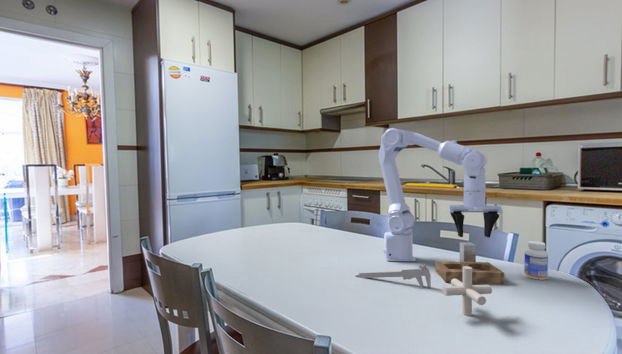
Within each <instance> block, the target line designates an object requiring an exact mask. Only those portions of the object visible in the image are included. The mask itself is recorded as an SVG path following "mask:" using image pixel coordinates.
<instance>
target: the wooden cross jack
mask: <svg viewBox="0 0 622 354" xmlns="http://www.w3.org/2000/svg"><path fill="white" fill-rule="evenodd" d="M450 284H451V286H443V287H442V288H441V289H442V294H443V295H444V296H445V297H449V296H450V297H451V296H462V301H461V303H462V305H461V306H462V307H461V309H462V314H463V315H464V316H468V317H470V316H473V315H472V314H473V313H472V312H473V301H474V303H476V304H477V305H479V306H485V304H486V302H487V298H486V297H485V296H484V295H489V294H490V295H491V294H492V292H493V289H492V286H491V285H490V284H479V285H478V284H477V285H474V284H473V283H472V267H468V266H463V283H462V282H461V281H459V280H458V279H456V278H454V279H452V280H451V283H450Z"/></svg>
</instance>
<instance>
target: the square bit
mask: <svg viewBox="0 0 622 354" xmlns="http://www.w3.org/2000/svg"><path fill="white" fill-rule="evenodd" d="M476 260H477V245H476V244H475V243H473V242H471V241H469V242H467V241H466V242H463V241H460V242H459V262H477V261H476Z"/></svg>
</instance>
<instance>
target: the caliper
mask: <svg viewBox="0 0 622 354" xmlns="http://www.w3.org/2000/svg"><path fill="white" fill-rule="evenodd" d="M418 266H419V267H412V268H411V267H410V268H402V269H400V270H384V271H383V270H382V271H379V270H378V271H361V272H360V271H359V272H358V273H356V274H355V275H354V277H356V278H357V277H359V278H362V279H375V278H376V279H377V278H402V279H403V280H404V281H405V280H412V279H416V280H417V283H418V284H419V286H420V288H424V282H423V278H422V277H424V278H425V281H426V285H427V288H428V289H429V288H431V282H432V281H431V280H432V279H431V277H432V276H431V272H430V269H429V267H426V263H424V264H423V265H422V264H421V263H420V264H419V265H418Z"/></svg>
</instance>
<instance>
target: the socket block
mask: <svg viewBox="0 0 622 354" xmlns="http://www.w3.org/2000/svg"><path fill="white" fill-rule="evenodd" d="M463 266H468V267H472V284H489V285H490V284H491V285H492V284H495V285H496V284H498V285H499V284H502V285H505V272H504V271H502V270H501V269H499V268H498V267H497V266H495V265H493V264H492V263H490V262H488V261H486V262H485V261H476V262H460V261H438V260H437V261H435V272H436V274H437V275H438V276H439V277H440V278H441V279H442V280H443V281H444V282H445V284H446V283H448V284H451V280H452V279H454V278H456V279H458V280H459V281H461V282H462V283H463Z"/></svg>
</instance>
